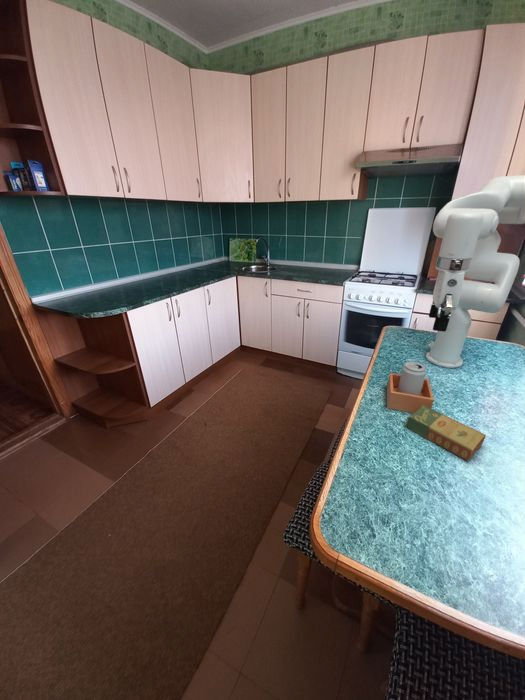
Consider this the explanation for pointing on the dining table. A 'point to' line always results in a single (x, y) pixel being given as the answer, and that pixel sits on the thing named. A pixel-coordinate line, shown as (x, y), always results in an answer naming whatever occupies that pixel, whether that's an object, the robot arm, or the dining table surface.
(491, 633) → the dining table surface
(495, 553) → the dining table surface
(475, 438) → the carton
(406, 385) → the beverage can
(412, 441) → the dining table surface
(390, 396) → the bin
